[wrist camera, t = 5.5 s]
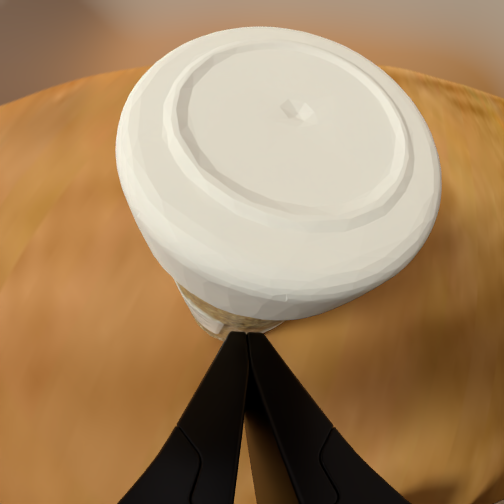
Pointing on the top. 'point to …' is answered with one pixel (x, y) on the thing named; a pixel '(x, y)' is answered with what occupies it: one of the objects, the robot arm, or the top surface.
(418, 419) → the top surface
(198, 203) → the sprinkles bottle
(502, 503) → the game die
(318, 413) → the robot arm
